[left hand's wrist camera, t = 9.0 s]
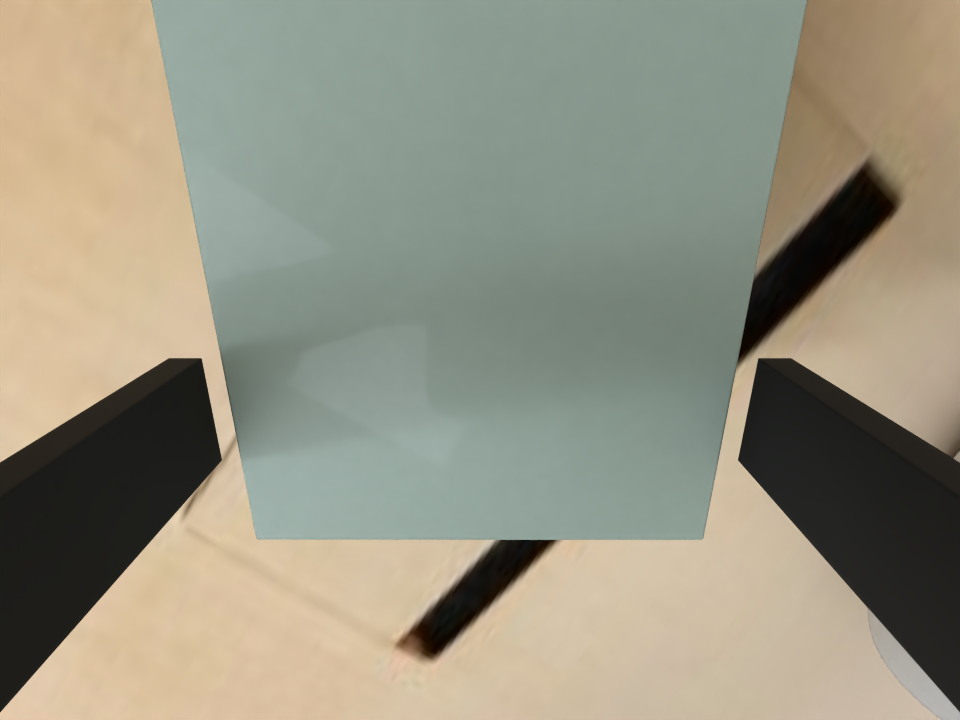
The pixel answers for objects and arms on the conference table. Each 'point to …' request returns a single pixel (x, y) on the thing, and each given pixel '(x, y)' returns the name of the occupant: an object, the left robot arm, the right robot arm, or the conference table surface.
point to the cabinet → (479, 252)
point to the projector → (911, 669)
